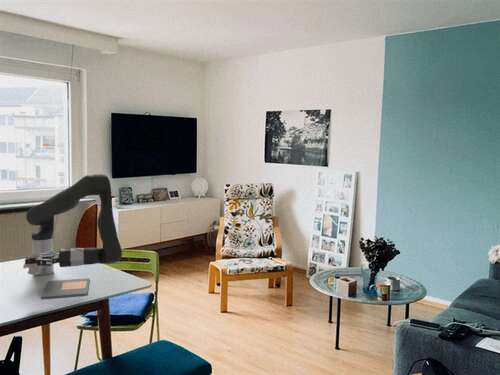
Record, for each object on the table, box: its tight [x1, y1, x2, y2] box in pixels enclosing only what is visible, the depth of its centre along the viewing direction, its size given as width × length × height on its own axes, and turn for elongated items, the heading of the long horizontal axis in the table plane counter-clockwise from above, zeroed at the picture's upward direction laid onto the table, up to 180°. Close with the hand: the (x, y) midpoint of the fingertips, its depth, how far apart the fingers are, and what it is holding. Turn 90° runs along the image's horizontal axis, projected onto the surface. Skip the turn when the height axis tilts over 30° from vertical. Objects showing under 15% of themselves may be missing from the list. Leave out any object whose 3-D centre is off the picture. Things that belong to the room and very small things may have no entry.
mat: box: [40, 277, 90, 300], centre depth 200 cm, size 21×18×1 cm
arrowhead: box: [22, 251, 44, 276], centre depth 183 cm, size 8×3×10 cm, turn 121°
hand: (25, 260), depth 182 cm, fingers closed on arrowhead, 2 cm apart
